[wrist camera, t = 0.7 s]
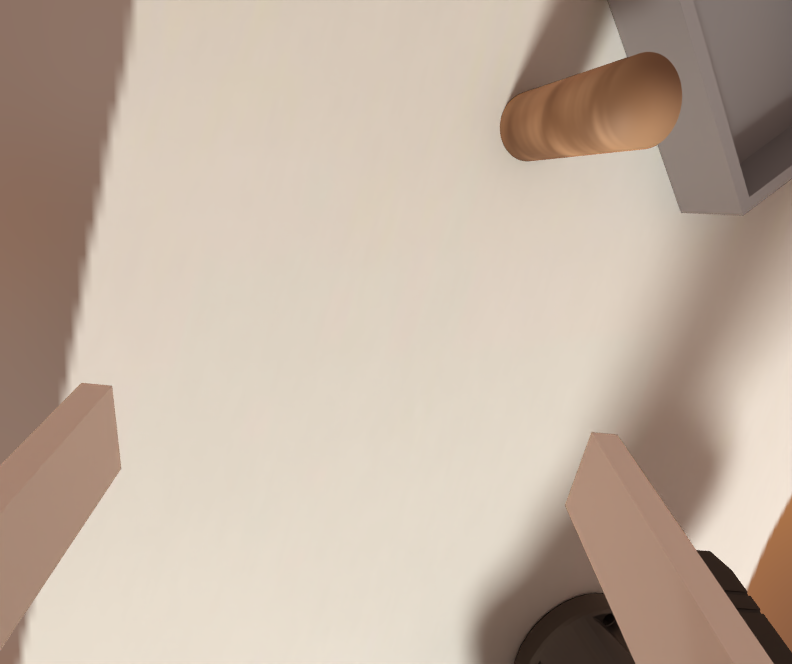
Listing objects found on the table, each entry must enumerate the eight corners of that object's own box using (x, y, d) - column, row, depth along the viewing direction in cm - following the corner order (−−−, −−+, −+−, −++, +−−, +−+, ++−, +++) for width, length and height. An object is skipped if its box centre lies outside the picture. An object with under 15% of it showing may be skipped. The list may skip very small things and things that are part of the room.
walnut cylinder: (566, 139, 41) (692, 119, 30) (517, 173, 41) (627, 166, 29) (541, 78, 39) (665, 33, 28) (489, 113, 39) (595, 81, 28)
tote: (841, 94, 48) (920, 81, 43) (681, 212, 46) (743, 215, 41) (794, -147, 41) (883, -200, 35) (601, -20, 39) (663, -55, 33)
